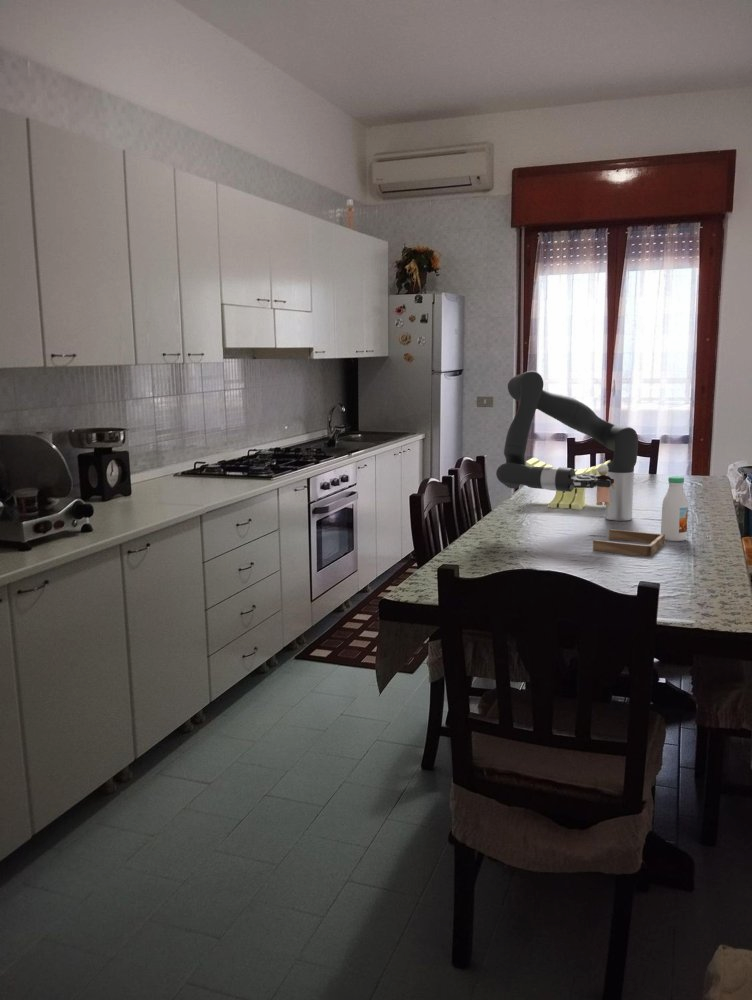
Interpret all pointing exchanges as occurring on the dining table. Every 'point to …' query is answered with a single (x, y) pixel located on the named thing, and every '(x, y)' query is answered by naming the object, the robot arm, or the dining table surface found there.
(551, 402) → the robot arm
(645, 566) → the dining table surface
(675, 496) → the milk bottle
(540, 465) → the slatted curved stool
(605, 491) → the grandmother figurine
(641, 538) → the box
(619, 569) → the dining table surface
